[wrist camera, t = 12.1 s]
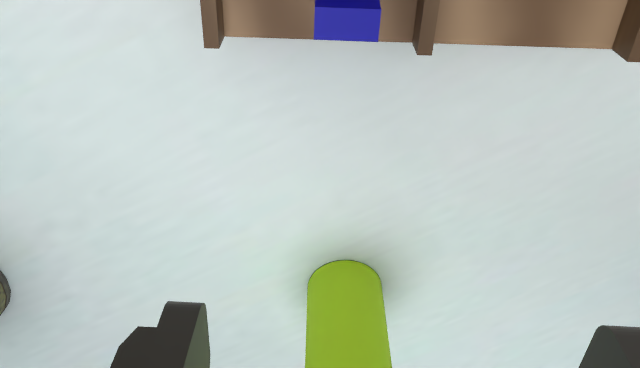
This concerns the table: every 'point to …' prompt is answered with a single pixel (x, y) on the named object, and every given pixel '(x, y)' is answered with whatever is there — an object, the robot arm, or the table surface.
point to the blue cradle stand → (347, 20)
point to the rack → (446, 22)
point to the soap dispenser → (346, 318)
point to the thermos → (4, 293)
